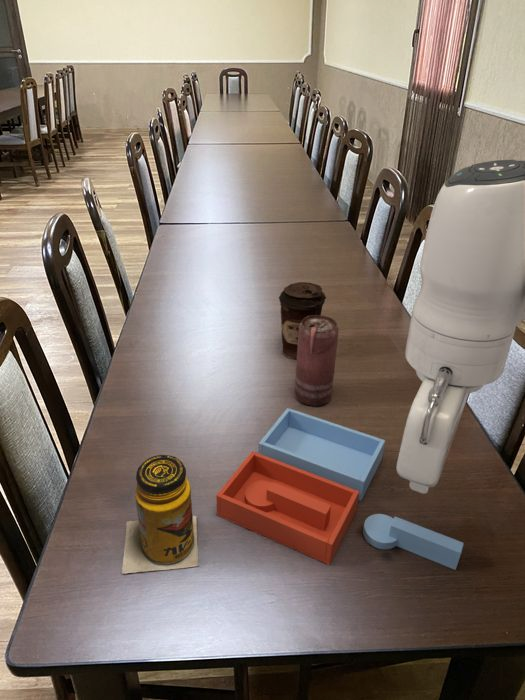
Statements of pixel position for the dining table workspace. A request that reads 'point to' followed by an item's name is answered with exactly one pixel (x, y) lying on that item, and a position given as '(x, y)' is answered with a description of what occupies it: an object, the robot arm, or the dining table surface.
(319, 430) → the blue bin
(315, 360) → the can
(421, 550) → the blue spoon
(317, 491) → the red bin
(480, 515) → the dining table surface
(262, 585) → the dining table surface
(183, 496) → the condiment
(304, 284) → the coffee cup
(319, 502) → the red spoon
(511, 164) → the robot arm
